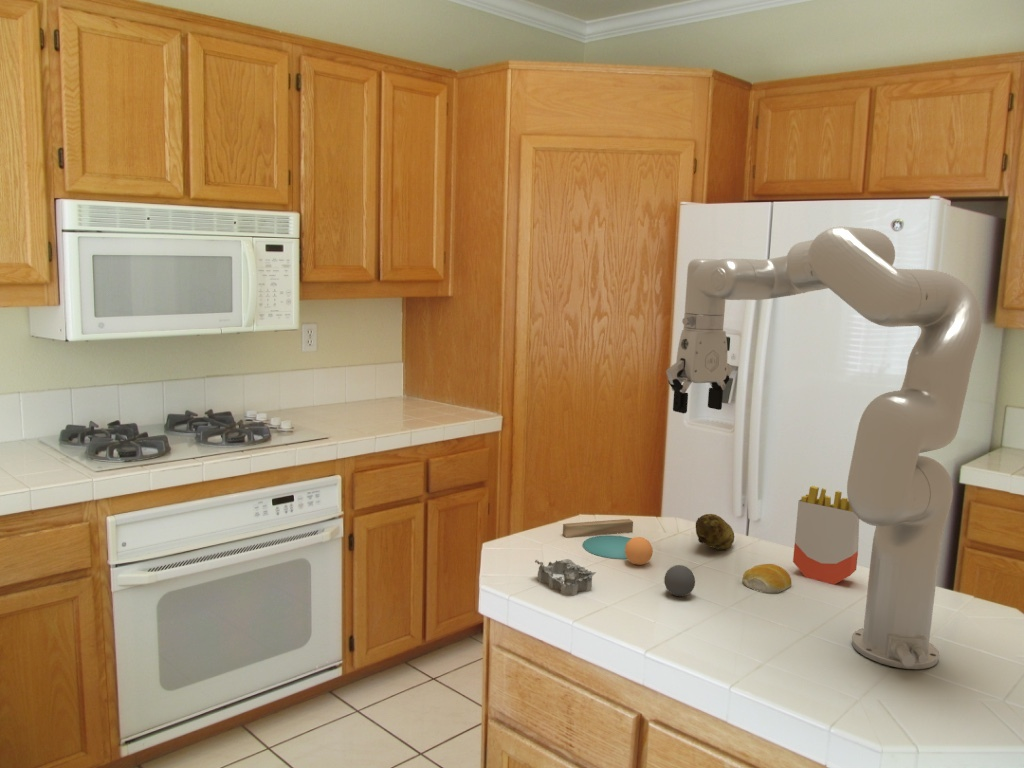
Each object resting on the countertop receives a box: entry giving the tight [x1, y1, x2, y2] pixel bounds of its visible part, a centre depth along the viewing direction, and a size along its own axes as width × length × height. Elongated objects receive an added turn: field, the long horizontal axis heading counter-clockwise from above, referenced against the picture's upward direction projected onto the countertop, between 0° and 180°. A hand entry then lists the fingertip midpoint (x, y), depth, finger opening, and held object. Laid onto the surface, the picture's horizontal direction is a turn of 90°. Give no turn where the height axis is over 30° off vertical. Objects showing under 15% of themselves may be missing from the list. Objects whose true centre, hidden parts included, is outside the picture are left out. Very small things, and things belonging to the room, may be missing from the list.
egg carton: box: [534, 558, 597, 597], centre depth 156 cm, size 11×8×4 cm
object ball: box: [625, 536, 654, 566], centre depth 167 cm, size 6×6×6 cm
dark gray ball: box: [663, 564, 696, 597], centre depth 152 cm, size 6×6×6 cm
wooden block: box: [562, 518, 634, 539], centre depth 185 cm, size 2×16×2 cm, turn 109°
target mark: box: [582, 534, 633, 560], centre depth 177 cm, size 14×14×1 cm
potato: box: [695, 513, 735, 550], centre depth 178 cm, size 8×13×8 cm, turn 130°
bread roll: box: [742, 563, 793, 594], centre depth 160 cm, size 8×9×4 cm
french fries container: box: [792, 485, 860, 585], centre depth 163 cm, size 5×11×18 cm, turn 53°
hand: (697, 410), depth 165 cm, fingers open, 9 cm apart
